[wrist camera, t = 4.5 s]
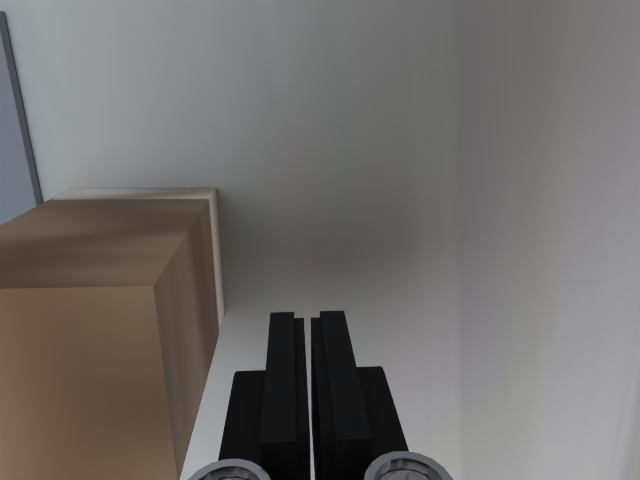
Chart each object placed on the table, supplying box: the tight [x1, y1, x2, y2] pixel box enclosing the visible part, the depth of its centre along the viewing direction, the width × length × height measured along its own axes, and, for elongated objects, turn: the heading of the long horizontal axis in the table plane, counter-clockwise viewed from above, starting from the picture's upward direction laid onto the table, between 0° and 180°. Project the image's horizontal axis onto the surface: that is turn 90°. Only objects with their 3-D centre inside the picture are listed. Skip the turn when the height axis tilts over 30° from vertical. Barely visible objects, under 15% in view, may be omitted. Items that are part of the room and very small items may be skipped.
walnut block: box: [0, 188, 225, 480], centre depth 13 cm, size 5×5×8 cm
